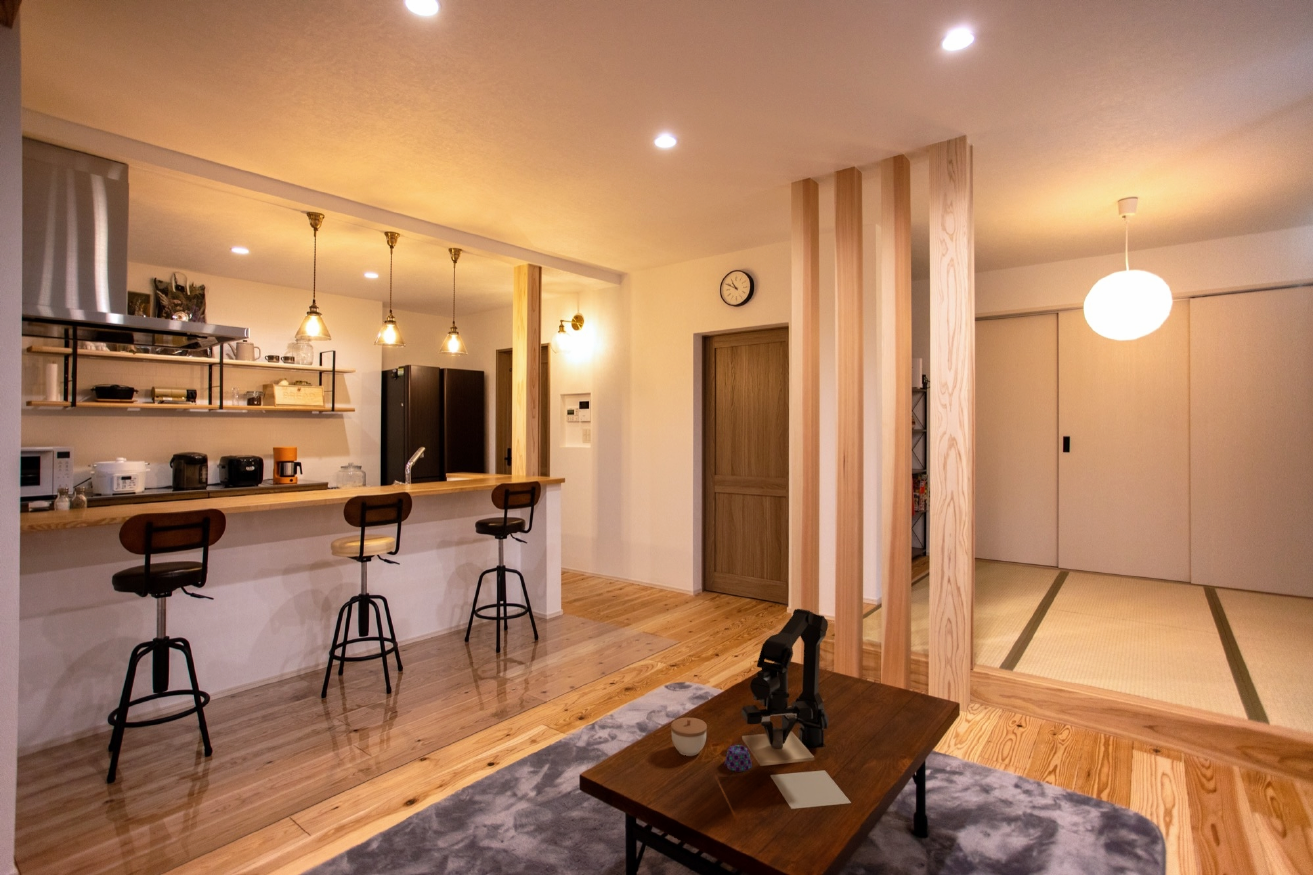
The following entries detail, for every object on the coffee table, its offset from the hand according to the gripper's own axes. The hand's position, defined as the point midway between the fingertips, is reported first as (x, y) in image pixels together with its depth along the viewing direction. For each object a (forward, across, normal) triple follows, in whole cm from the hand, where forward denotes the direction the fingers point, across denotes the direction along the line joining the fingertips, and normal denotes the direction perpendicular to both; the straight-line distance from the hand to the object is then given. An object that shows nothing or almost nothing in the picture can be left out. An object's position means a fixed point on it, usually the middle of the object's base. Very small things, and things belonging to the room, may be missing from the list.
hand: (776, 743), depth 175 cm
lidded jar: (+10, +20, -20) cm, 30 cm away
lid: (+2, 0, 0) cm, 2 cm away
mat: (+10, -6, +7) cm, 14 cm away
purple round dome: (+10, +8, -9) cm, 16 cm away
